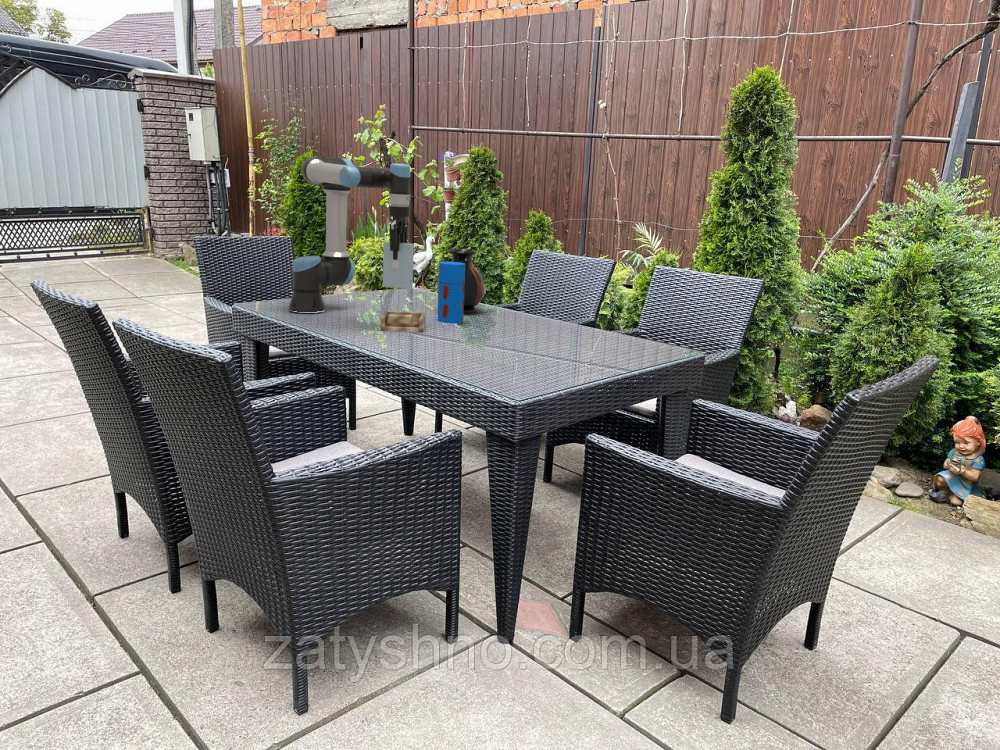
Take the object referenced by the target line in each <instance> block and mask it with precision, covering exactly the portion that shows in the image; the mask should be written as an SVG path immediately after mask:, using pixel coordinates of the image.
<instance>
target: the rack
mask: <svg viewBox="0 0 1000 750" xmlns="http://www.w3.org/2000/svg"><path fill="white" fill-rule="evenodd" d="M389 314H406V315H413V320H412V322H419V328H415V327H391V326H387V321H388V315H389ZM425 326H426V312H416V311H415V312H412V311H407V312H406V311H391V310H390V311H388V310H385V311H384V313H382V315H381V317H380V331H382V332H404V333H424V329H425Z"/></svg>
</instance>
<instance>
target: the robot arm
mask: <svg viewBox="0 0 1000 750" xmlns="http://www.w3.org/2000/svg"><path fill="white" fill-rule="evenodd" d="M300 171H301V175H302V177H303V179H304V180H305V182H307V183H309V184H311V185H314V186H322V190H323V192H324V193H325V194H326V197H325V199H326V200H325V201H326V204H325V205H326V213H325V215H326V218H325V219H326V220H325V221H326V223H325V225H326V226H325V251H324V252H323V253H322V254H321V256H322V257H320V256H319V255H305V256H299V257H297V258H294V259H293V261H292V269H291V270H292V295H291V299H290V302H289V306H288V311H289V310H291V311H297V312H317V311H323V310H325V311H326V305H325V302H324V298H323V297H322V290H321V289H322V287H331V286H333V287H334V286H338V287H339V286H347V285H349V284H350V283H351V281H352V280H353V279H354V276H355V272H356V268H355V263H354V261H353V259H351V258H350V254H349V253H348V252H347V225H348V224H347V220H348V219H347V218H348V217H347V216H348V215H347V214H348V211H347V210H348V209H347V208H348V195H349V194H350V193H351V189H352V188H367V189H368V188H369V189H382V190H383V189H385V190H386V189H388V190H389V200H388V202H389V203H388V204H389V210H388V211H389V212H388V213H389V214H388V215H389V216H390V217H392V223H389V224H388V226H389V242H390V251H393V258H392V268H397V269H400V251H399V244H400V243H408V232H409V230H408V229H409V222H407V221H406V218H409V217H410V207H409V205H410V201H411V197H410V196H411V195H410V191H411V177H412V175H411V166H410V165H409V164H408V163H391V164H390V167H389V168H385V167H369V166H368V167H367V166H357V165H356V166H355V165H354V163H353V161H351V160H350V159H348V158H343V157H329V156H327V157H326V156H311V157H309V158H307V159H306V160H305V161H304V162H303V163H302V165H301V168H300Z"/></svg>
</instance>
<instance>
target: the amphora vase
mask: <svg viewBox="0 0 1000 750" xmlns="http://www.w3.org/2000/svg"><path fill="white" fill-rule="evenodd" d="M447 253H448V254H450V255H451V258H452V259H451V262H460V263H465V290H464V315H473V314H476V313H477V312H478V311H479V308H478V307H477V306H478V305H479V304H480V303H481V301H482V300H483V299H484V296H485V282H484V280H483V277H482V276H483V275H482V274H481V272H479V270H478V269H477V268H476V267H475V265H474V263H473V261H472V259H473V256H474V255H476V254H477V251H476V250H474V249H473V250H472V249H464V248H462V249H461V248H452V249H451V248H450V249H448V250H447ZM438 282H439V280H438V281H437V283H438ZM436 292H437V294H438V284H437V286H436Z"/></svg>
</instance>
